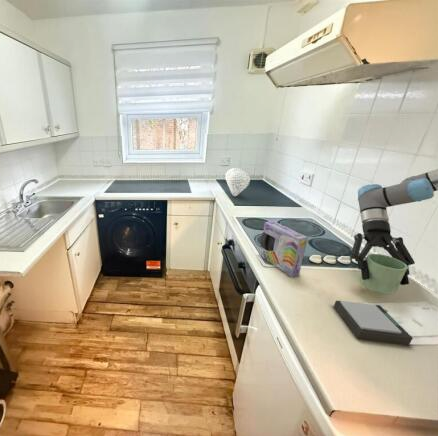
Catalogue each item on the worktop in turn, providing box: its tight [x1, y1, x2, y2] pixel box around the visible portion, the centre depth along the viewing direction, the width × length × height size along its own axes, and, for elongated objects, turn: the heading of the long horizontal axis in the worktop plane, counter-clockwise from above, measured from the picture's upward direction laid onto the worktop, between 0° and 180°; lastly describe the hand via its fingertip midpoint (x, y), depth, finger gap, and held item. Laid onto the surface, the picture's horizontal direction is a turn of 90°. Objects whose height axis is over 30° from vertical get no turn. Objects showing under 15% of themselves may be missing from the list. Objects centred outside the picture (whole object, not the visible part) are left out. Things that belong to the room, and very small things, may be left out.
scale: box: [333, 300, 414, 347], centre depth 74 cm, size 13×13×4 cm
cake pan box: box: [259, 220, 308, 277], centre depth 102 cm, size 19×5×18 cm, turn 18°
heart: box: [224, 167, 251, 197], centre depth 194 cm, size 28×16×22 cm, turn 175°
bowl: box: [357, 253, 409, 295], centre depth 84 cm, size 10×10×10 cm
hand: (385, 281), depth 82 cm, fingers closed on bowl, 10 cm apart
